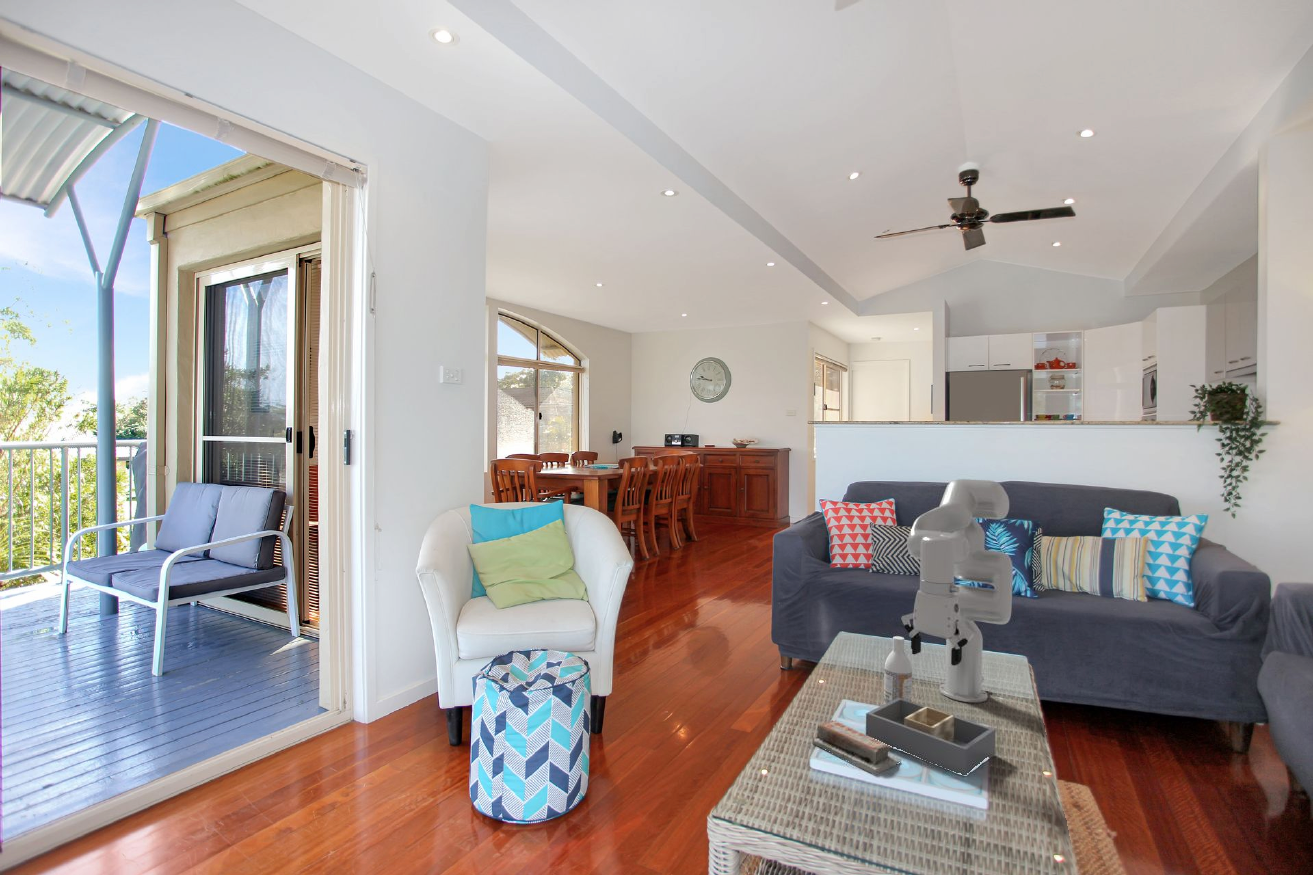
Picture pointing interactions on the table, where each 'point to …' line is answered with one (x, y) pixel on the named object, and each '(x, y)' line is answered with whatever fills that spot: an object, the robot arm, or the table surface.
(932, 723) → the pine crate
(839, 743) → the packaged product
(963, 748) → the charcoal crate
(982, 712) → the table surface
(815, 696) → the table surface
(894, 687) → the bath foam
